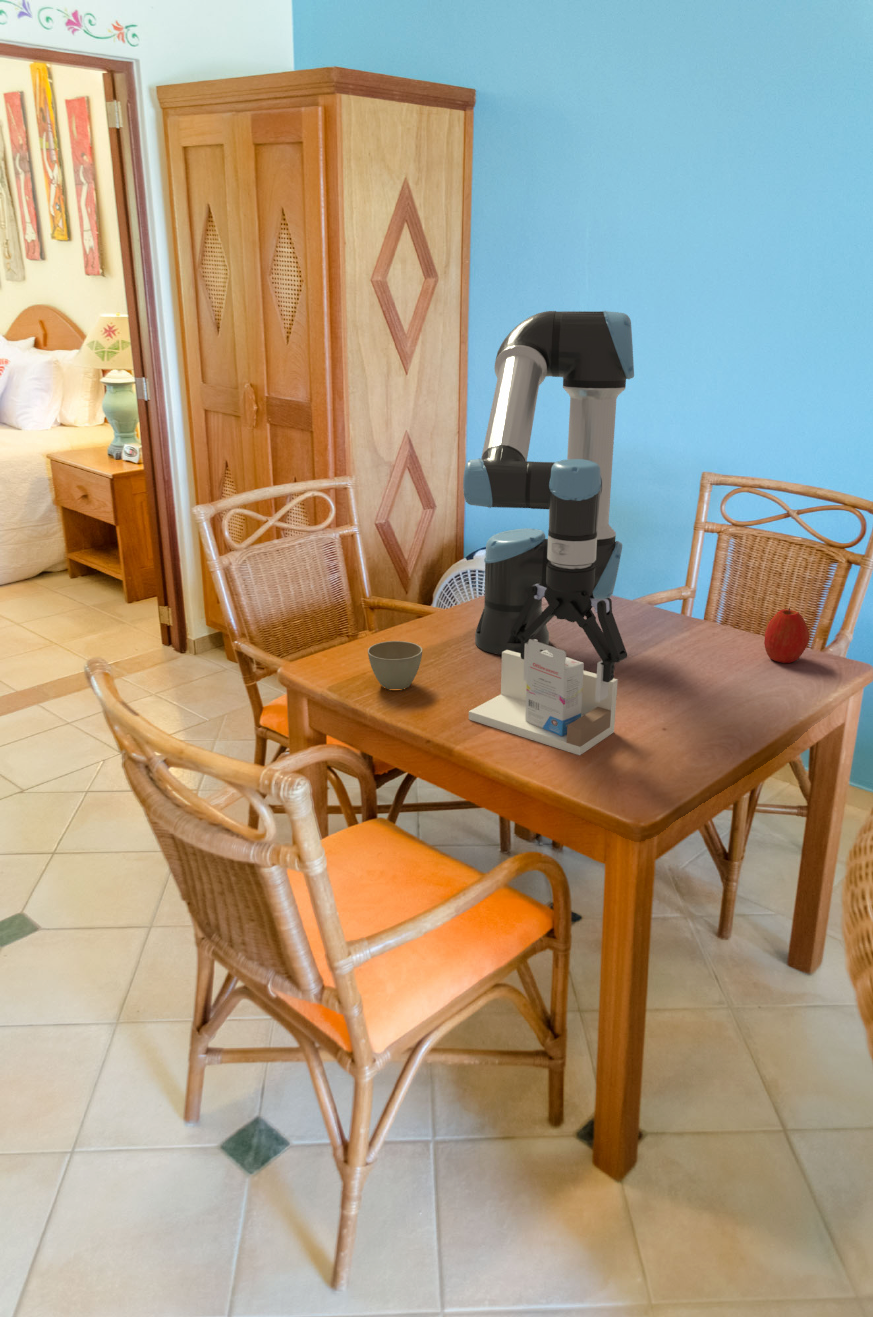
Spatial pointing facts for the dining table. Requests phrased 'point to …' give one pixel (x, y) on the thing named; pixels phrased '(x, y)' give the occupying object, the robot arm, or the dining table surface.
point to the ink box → (552, 688)
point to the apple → (786, 636)
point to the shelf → (511, 718)
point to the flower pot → (395, 663)
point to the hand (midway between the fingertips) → (564, 688)
